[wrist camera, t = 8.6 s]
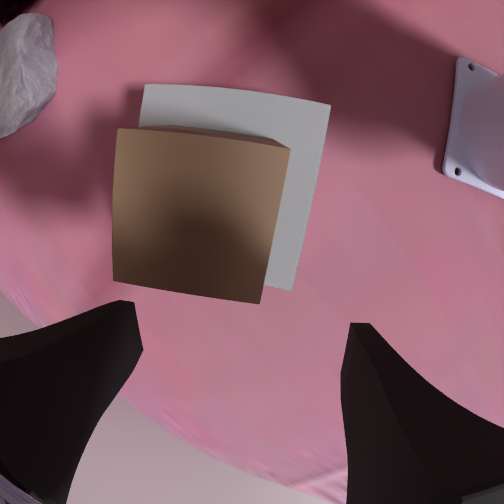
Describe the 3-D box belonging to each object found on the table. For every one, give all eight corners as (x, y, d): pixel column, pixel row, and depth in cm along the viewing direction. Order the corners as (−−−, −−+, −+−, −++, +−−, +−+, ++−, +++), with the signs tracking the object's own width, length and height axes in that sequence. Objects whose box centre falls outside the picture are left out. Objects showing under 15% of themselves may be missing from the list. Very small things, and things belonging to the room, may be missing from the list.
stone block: (78, 100, 20) (56, 6, 15) (37, 109, 16) (17, 2, 11) (6, 150, 23) (-13, 71, 18) (-27, 165, 19) (-47, 78, 14)
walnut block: (272, 138, 13) (290, 148, 7) (255, 234, 15) (259, 304, 9) (171, 125, 13) (117, 128, 7) (161, 220, 14) (113, 280, 9)
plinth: (325, 115, 16) (331, 105, 12) (294, 262, 19) (291, 291, 15) (176, 94, 17) (145, 84, 13) (158, 232, 20) (127, 251, 16)
